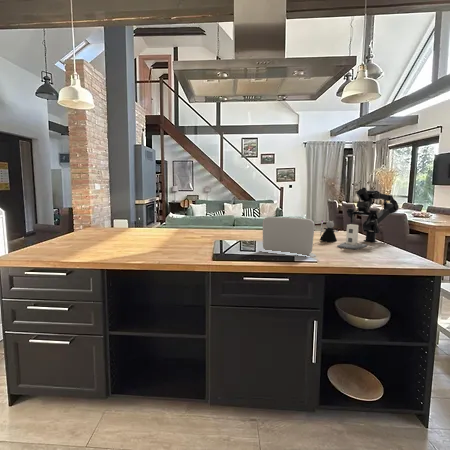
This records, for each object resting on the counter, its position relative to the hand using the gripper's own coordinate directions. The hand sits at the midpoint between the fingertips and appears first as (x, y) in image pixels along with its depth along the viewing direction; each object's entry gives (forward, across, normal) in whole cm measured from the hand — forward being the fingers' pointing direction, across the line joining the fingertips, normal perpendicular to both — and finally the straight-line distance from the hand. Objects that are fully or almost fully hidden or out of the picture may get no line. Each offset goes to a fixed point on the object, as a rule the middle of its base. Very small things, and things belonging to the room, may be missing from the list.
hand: (358, 223), depth 206 cm
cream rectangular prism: (+18, +2, 0) cm, 18 cm away
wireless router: (+49, -17, -29) cm, 59 cm away
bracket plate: (+16, 0, +3) cm, 16 cm away
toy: (+12, -18, +8) cm, 23 cm away
